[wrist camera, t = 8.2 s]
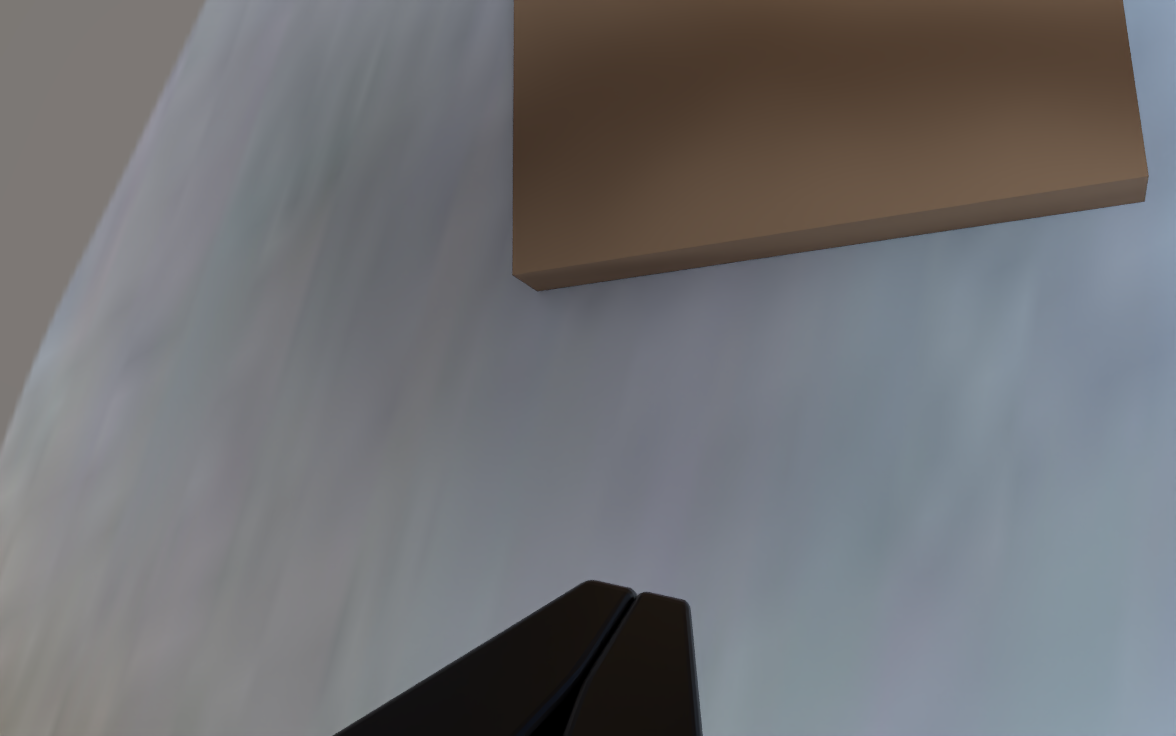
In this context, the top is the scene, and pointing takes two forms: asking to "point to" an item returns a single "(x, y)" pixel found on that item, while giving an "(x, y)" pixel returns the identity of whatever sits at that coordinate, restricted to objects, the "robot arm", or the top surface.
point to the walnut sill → (806, 126)
